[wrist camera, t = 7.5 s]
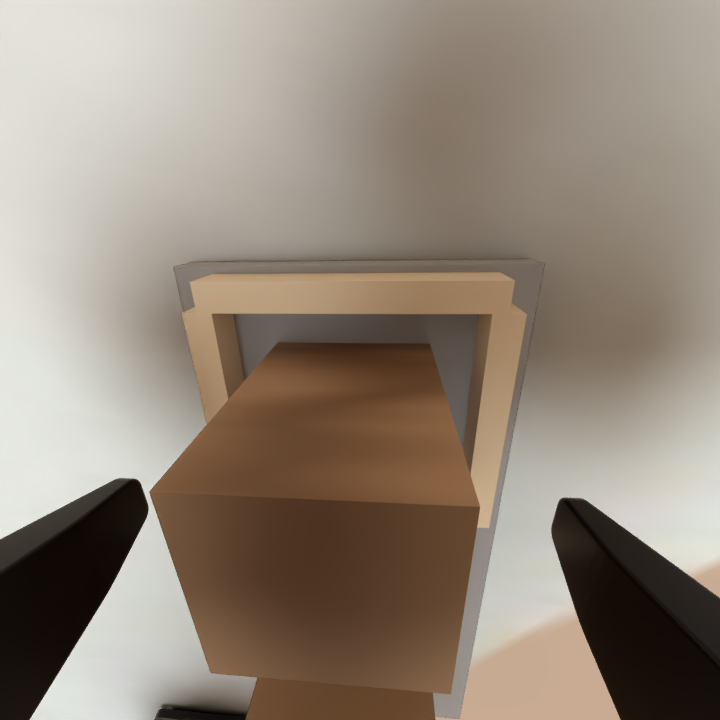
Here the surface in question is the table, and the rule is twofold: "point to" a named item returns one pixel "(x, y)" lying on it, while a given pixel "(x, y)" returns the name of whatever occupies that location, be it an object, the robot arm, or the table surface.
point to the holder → (378, 325)
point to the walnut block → (327, 521)
